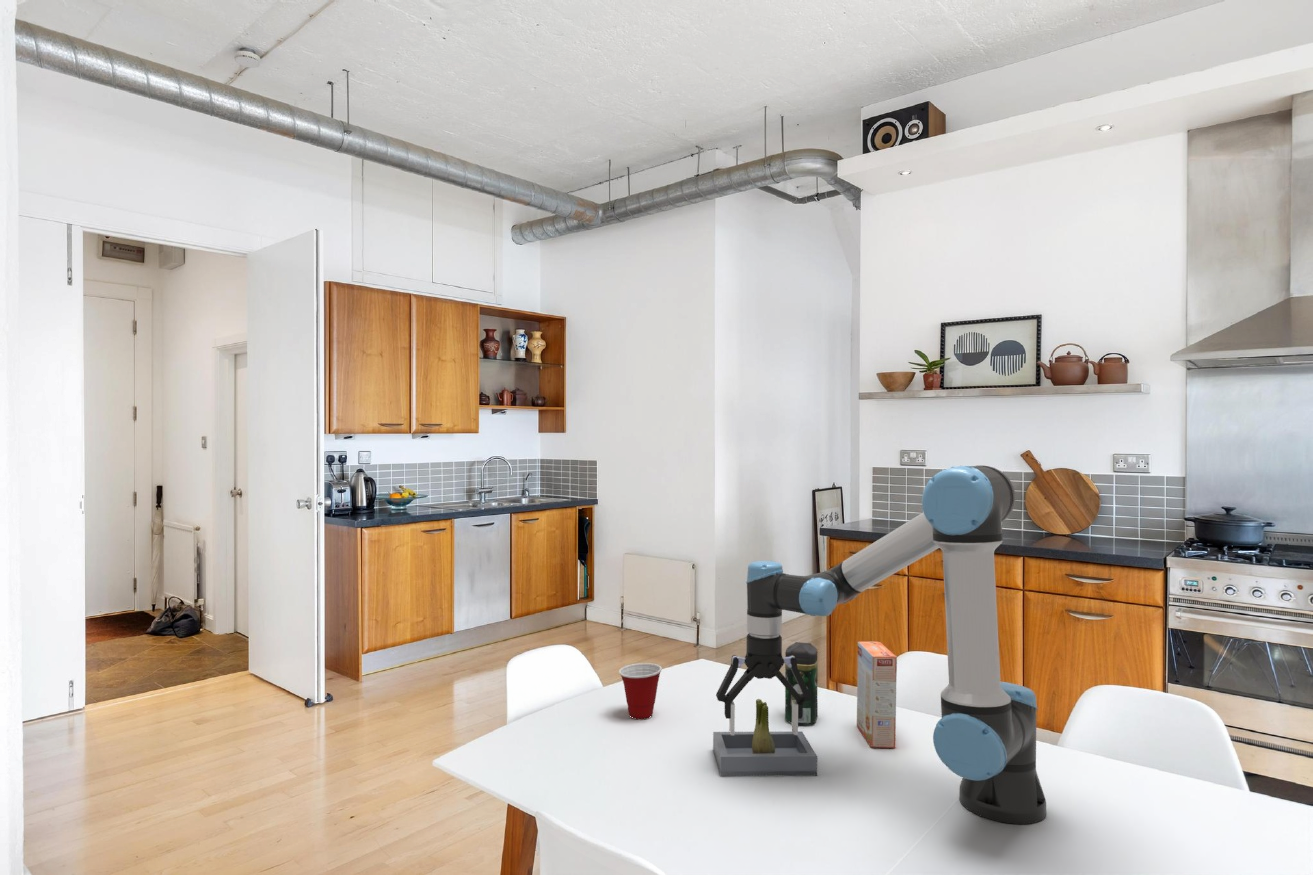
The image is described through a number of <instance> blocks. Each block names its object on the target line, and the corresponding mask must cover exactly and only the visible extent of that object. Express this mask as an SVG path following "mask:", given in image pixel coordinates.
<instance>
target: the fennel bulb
mask: <svg viewBox="0 0 1313 875" xmlns="http://www.w3.org/2000/svg"><path fill="white" fill-rule="evenodd" d="M755 707H756V708H755V725H754V731H753V732H754V735H753V741H752V751H753V754H766V753H775V745H774V742H773V739H772V737H771V735H770V732H771V731H770V728H769V726H770V725H769V724H770V723H769V722H770V721H769V706H768V704H767V702H766V701H765V702H764V701H762V699H761V698H757V699H756V700H755Z"/></svg>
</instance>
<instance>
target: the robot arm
mask: <svg viewBox="0 0 1313 875" xmlns="http://www.w3.org/2000/svg"><path fill="white" fill-rule="evenodd" d="M1016 501H1017V500H1016V490H1015V487H1014V485H1013V482H1012V481H1011V479H1009V476H1007V475H1006V474H1005V473H1004V472H1003V471H1001V470H1000V469H998V468H995V467H992V466H990V465H958V466H951V467H949V468H947V469H946V468H944V470H943V469H942V470H941V471H939V472H937V473H936V474H935V475H933V476H932V477H931V478H930V479H929V481H928V482H927V483H926V485H925V487H924V490H923V492H922V497H921V507H922V513H920V514H918V515H917V516H915V517H913V518H912V519H910V520H908V521H907V522H905V523H904V524H902V525H900V526H899V527H897V528H895V529H894V530H892V531H890V532H888V533H887V534H885V535H883V536H882V537H881V538H879V539H877V540H876V541H874V542H873V543H871V544H869V545H867V546H866V547H864V548H862V549H860V550H859V551H858V552H856V553H854V554H853V555H851V556H849V557H848V558H846V559H845V560H842V562H839V563H838V564H837V565H835V566H833V567H831V568H830V569H828V570H825V571H820V572H818V573H817V572H816V573H813V574H809V575H795V574H787V573H784V569H783V565H782V563H780V562H777V561H772V560H758V561H756V560H755V561H752V562H750V563H749V564H748V567H747V578H746V600H747V602H746V605H747V607H746V608H747V609H746V632H747V633H748V634H747V635H746V654H745V656H744V657H742V656H737V655H736V654H733V655H732V656H731V662H730V667H728V670H727V672H726V674H725V676H724V677H723V680H722V682H721V684H720V685H719V688H718V690H717V691H716V695H715V696H716V700H717V701H718V702H722V703H724V716H725V719H728V720H729V721H728V722H729V725H728V726H729V727H728V729H729V730H728V732H730V734H731V735H734V733H735V732H736V731H735V728H736V727H735V724H736V722H735V718H736V716H735V714H736V712H735V710H736V708H735V707H736V705H735V703H734V700H735V699H736V698H737V696H738V695H739V694H740V693H741V692H742V690H743V689H744V688H745V687H746V686H747V685H748V683H750V681H752V680H753V679H754V678H756V679H759V680H760V679H769V680H770V679H773V678H774V677H776V678H777V679H778V681H780V683H781V684H782V685H783V687H784V688H785V687H786V689H787V690H788V691H789V692H790V693H791V695H792V696H793V697H794V698H795V699H796V701H792V723H791V731H792V732H793V734H794V735H798V731H799V725H798V718H802V716H803V704H804V702H805V701H810V700H811V699H812V697H811V695H810V693H809V691H808V689H807V687H806V685H805V683H804V681H803V679H802V676H801V674H800V672H799V670H798V668H797V660H796V658H795V657H794V656H793V655H790V656H789V657H783V654H782V653H783V650H782V649H783V637H782V635H781V634H782V632H783V611H788V612H793V613H799V614H805V615H809V616H811V617H815V616H817V617H828V616H830V615H831V614H832V613H833V611H834V610H835V609H836V607H837V606H838V605H841V604H842V605H844V604H847V603H849V602H851V601H853V600H854V599H856V598H857V597H858V596H859V594H861V593H862V592H864V591H866V590H868V589H870V588H871V587H873V586H875V585H876V584H879V583H880V582H881V581H884V580H885V579H887V578H889V577H890V576H893V575H894V574H896V573H898V572H900V571H901V570H903V569H905V568H906V567H908V566H911V565H912V564H913V563H916V562H917V561H919V560H920V559H922V558H924V557H926V556H927V555H929V554H932V553H933V552H935V551H936V550H938V549H940V550H941V552H942V565H943V585H944V586H943V587H944V604H945V605H944V606H945V609H944V610H945V629H946V631H945V632H946V647H947V648H946V650H947V671H948V685H947V686H946V687H945V688H943V690H941V692H940V709H941V710H940V712H941V718H940V719H939V720H938V721H937V722H936V724H935V725H936V726H935V727H934V729H933V736H932V740H933V746H934V750H935V752H936V754H937V756H938V758H939V760H940V761H941V762H942V764H944V765H945V766H946V767H947V768H948V770H950V771H951V772H952V773H954V774H955V775H957V776H958V777H961V778H962V779H961V782H960V784H959V790H958V792H959V794H958V795H959V796H958V799H959V802H960V804H961V805H962V807H964V808H965V809H967V810H968V811H970V812H971V813H973V814H975V815H977V816H980V817H983V818H986V819H989V820H992V821H995V822H1000V823H1004V824H1005V823H1006V824H1015V825H1017V824H1019V825H1024V824H1025V825H1026V824H1033V823H1037V822H1040V821H1041V820H1043V819H1044V818H1045V817H1046V816H1047V801H1046V797H1045V794H1044V790H1043V787H1042V785H1041V781H1040V778H1039V775H1038V772H1037V710H1038V706H1037V697H1036V694H1035V692H1034V690H1032V689H1031V688H1028V687H1026V686H1023V685H1021V684H1016V683H1012V682H1005V681H1001V666H1000V664H1001V662H1000V647H999V645H1000V644H999V642H1000V640H999V626H998V625H999V624H998V606H997V586H996V585H997V584H996V570H995V569H996V566H995V564H996V563H995V550H996V549H997V548H998V547H999V546H1000V545H1001V544H1002V543H1003V540H1004V539H1003V522H1004V521H1006V520H1007V519H1008V518H1009V516H1010V515H1011V513H1012V512H1013V510H1014V508H1015V505H1016ZM785 663H786V665H787V666H788V667H789V668H791V670H792V672H793V674H794V676H795V679H796V681H797V683H798V685H799V687H800V689H801V691H802V693H803V694H801V695H799V694H798V692H797V691H796V690H795V689H794V688H793V686H792V685H791V684H790V683H789V682H788V680H787V679H786V678H785V675H784V674H783V673H782V672H781V671H780V670H781V668H782V667H783V666H784V664H785ZM744 664H745V666H746V667H747V668H746V670H745V671H744V672H743V674H742V675H741V677H739V679H738V680H737V681H736V682H735V684H734V685H733V686H731V684H732V682H733V680H734V679H735V677H736V674H737V672H738V669H740V668H741V667H742V665H744ZM730 686H731V688H730ZM729 688H730V689H729ZM728 690H729V691H728Z"/></svg>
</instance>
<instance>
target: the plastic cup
mask: <svg viewBox="0 0 1313 875" xmlns="http://www.w3.org/2000/svg"><path fill="white" fill-rule="evenodd" d="M662 670H663V668H662V666H661V665H659V664H656V663H653V662H652V663H650V662H640V663H632V664H627V665H624V666H622V667H621V668H619V670H618V674H619V676H620V677H621V679H622V682H623V686H624V693H625V698H626V704H627V710H628V714H629V715H630V716H631V717H633V718H636V719H635V720H638V719H644V718H648V719H650V718H649V717H650V716H653V714H654V710H655V709H654V707H655V703H656V698H657V692H658V685H659V680H660V674H661V672H662ZM630 716H629V717H630ZM631 717H630V718H631ZM633 718H632V719H633ZM644 720H645V719H644Z"/></svg>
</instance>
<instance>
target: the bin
mask: <svg viewBox="0 0 1313 875" xmlns="http://www.w3.org/2000/svg"><path fill="white" fill-rule="evenodd" d="M769 732H770V735H771V737H772V739H773V742H774V745H775V753H766V754H753V751H752V741H753V735H754V731H735V733H734V735H731V734H730V731H713V732H712V733H713V734H712V735H713V736H712V746H713V747H712V751H713V754H714V758H715V762H716V765H717V768H718V771H719V776H720V777H804V776H805V777H807V776H808V777H809V776H810V777H811V776H813V777H817V776H818V755H817V754H816V753H817V752H816V751H815V750H814V748H813V747H812V745H811V743H810V742H809V740H808V738H807V737H806V735H805V734H804V732H803V731H801V730H800V731H799V730H798V735H794V734H793V732H792V730H791V731H790V730H789V731H788V730H787V731H769Z"/></svg>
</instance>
